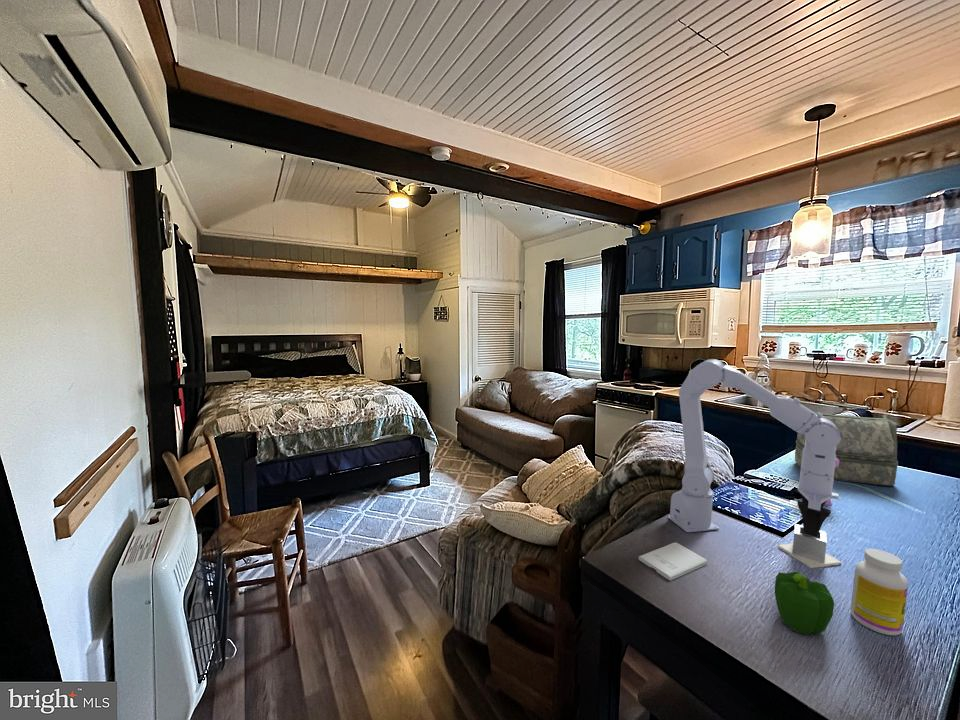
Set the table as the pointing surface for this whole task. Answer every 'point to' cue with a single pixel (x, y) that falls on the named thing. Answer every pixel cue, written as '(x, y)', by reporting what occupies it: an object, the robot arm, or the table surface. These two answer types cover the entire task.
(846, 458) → the lunch bag
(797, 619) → the bell pepper
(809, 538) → the white storage bin
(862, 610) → the supplement bottle
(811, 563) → the peg base
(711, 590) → the table surface
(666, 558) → the external hard drive
